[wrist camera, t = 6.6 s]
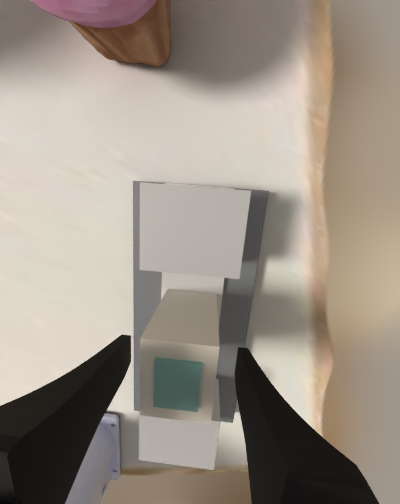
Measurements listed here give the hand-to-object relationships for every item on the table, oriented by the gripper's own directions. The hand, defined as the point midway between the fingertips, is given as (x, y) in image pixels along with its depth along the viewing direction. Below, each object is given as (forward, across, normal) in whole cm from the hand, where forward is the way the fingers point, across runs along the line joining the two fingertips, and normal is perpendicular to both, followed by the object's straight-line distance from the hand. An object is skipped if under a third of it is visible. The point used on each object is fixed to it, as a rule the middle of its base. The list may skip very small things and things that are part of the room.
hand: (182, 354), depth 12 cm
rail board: (+5, 0, 0) cm, 5 cm away
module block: (+4, 0, 0) cm, 4 cm away
